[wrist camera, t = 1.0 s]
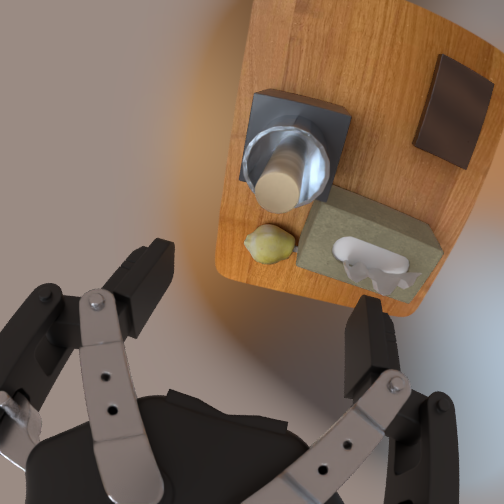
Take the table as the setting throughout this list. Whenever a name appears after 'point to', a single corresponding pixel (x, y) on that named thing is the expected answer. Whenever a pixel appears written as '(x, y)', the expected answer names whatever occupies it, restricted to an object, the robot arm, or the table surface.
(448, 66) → the board
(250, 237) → the fruit
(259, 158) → the tin
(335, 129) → the stand
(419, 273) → the tissue box
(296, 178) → the stick
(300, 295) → the table surface
